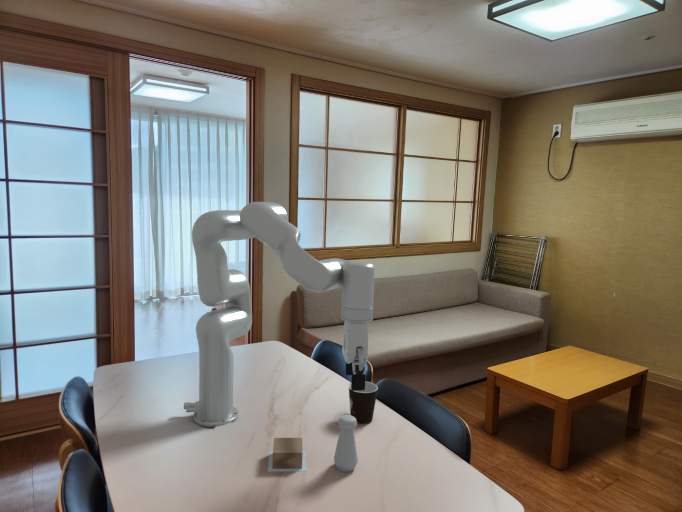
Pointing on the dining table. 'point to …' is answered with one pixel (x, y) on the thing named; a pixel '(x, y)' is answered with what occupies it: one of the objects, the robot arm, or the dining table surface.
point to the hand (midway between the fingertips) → (354, 382)
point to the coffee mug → (363, 403)
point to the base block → (287, 453)
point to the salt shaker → (346, 445)
